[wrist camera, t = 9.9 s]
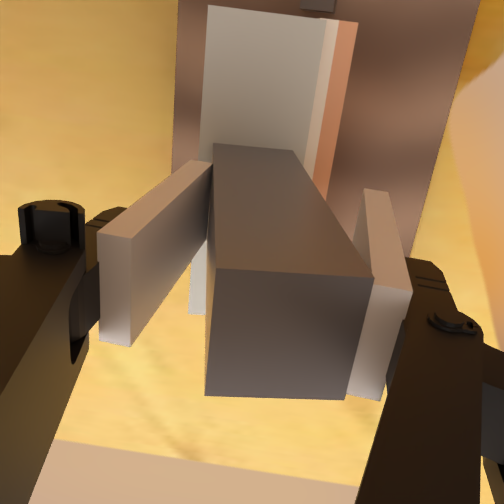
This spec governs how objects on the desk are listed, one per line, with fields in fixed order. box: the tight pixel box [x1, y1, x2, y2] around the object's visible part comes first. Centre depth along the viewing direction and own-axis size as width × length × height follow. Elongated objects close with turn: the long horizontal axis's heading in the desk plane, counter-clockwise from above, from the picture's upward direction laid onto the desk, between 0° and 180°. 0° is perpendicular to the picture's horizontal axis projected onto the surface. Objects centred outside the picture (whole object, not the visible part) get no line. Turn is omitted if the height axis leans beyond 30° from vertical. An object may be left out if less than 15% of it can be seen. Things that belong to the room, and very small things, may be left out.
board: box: [171, 0, 480, 257], centre depth 27 cm, size 18×15×3 cm
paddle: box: [188, 5, 375, 400], centre depth 15 cm, size 12×4×13 cm, turn 174°
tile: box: [303, 18, 358, 201], centre depth 23 cm, size 12×7×1 cm
